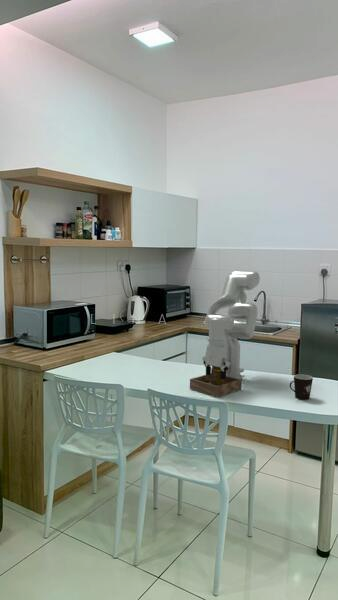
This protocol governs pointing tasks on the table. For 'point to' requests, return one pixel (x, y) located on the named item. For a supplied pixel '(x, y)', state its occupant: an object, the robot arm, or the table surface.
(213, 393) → the crate
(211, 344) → the robot arm
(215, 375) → the condiment
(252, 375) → the table surface
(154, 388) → the table surface
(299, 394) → the coffee mug
